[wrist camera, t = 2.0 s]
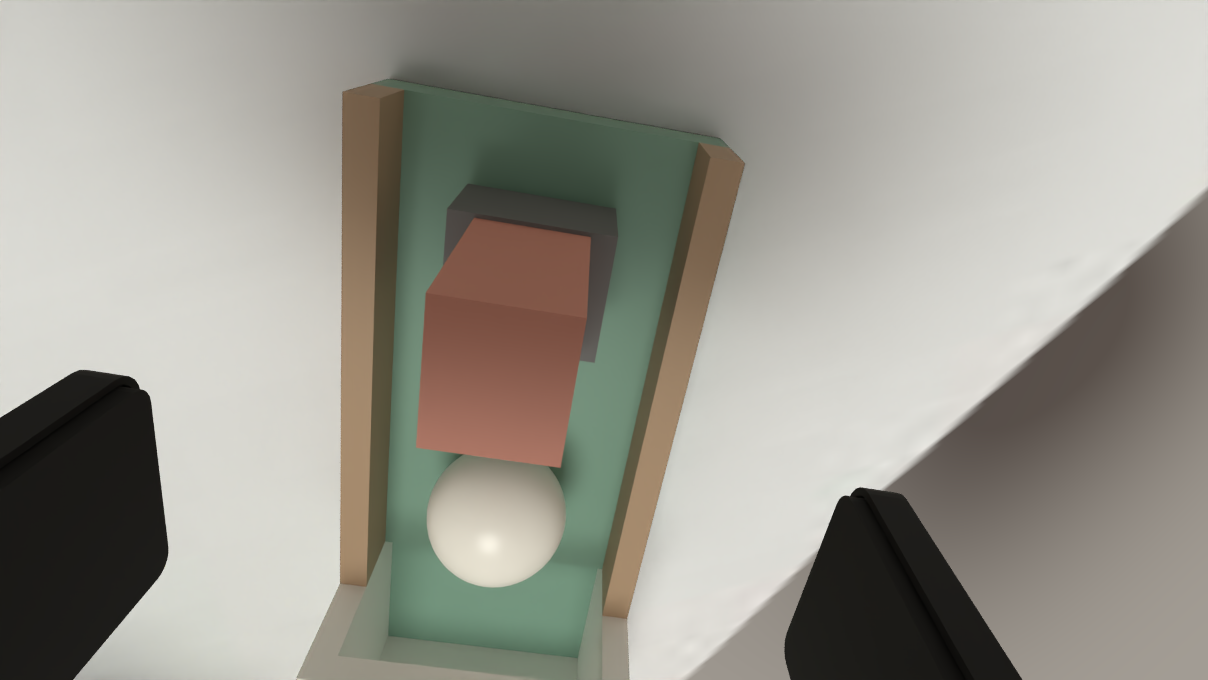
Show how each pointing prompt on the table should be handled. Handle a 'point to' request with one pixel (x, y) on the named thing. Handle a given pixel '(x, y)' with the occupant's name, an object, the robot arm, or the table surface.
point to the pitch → (600, 401)
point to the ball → (495, 519)
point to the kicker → (512, 323)
